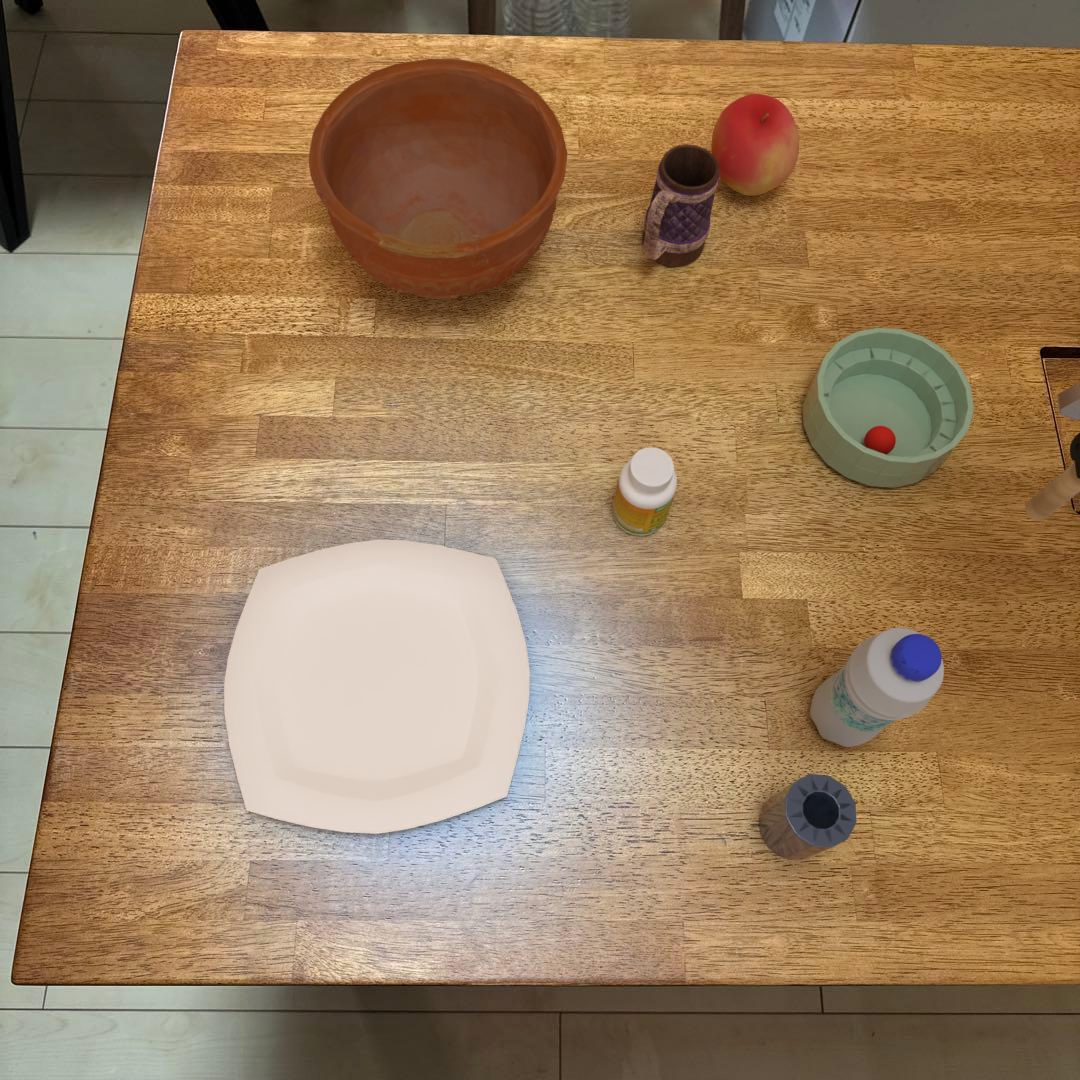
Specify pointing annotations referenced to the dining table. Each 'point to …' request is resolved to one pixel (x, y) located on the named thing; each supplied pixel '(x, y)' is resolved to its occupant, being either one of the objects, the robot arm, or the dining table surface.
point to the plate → (376, 687)
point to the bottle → (878, 686)
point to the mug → (680, 206)
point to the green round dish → (887, 406)
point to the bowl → (439, 174)
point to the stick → (1054, 495)
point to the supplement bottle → (645, 492)
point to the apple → (755, 144)
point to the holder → (808, 817)
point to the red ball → (880, 439)
